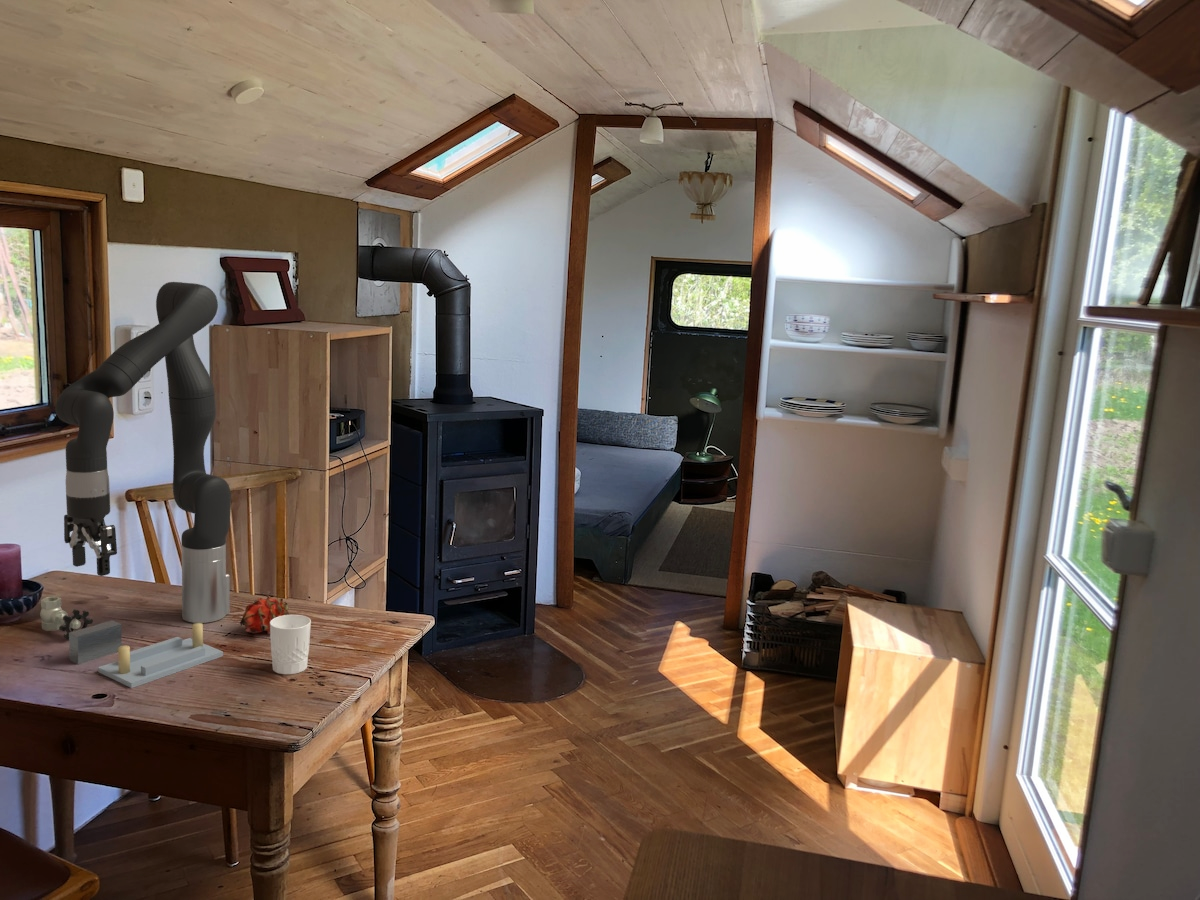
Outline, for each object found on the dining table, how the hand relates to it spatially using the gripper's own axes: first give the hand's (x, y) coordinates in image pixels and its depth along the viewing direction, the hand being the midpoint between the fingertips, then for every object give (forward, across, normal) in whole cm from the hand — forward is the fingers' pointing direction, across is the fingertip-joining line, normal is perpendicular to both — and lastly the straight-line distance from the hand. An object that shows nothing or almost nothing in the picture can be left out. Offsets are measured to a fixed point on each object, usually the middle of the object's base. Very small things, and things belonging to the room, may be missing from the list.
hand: (91, 570), depth 186 cm
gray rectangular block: (+18, 0, 0) cm, 18 cm away
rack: (+18, -13, -6) cm, 23 cm away
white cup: (+19, -33, -21) cm, 44 cm away
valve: (+19, +16, -2) cm, 25 cm away
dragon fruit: (+19, -14, -30) cm, 38 cm away
